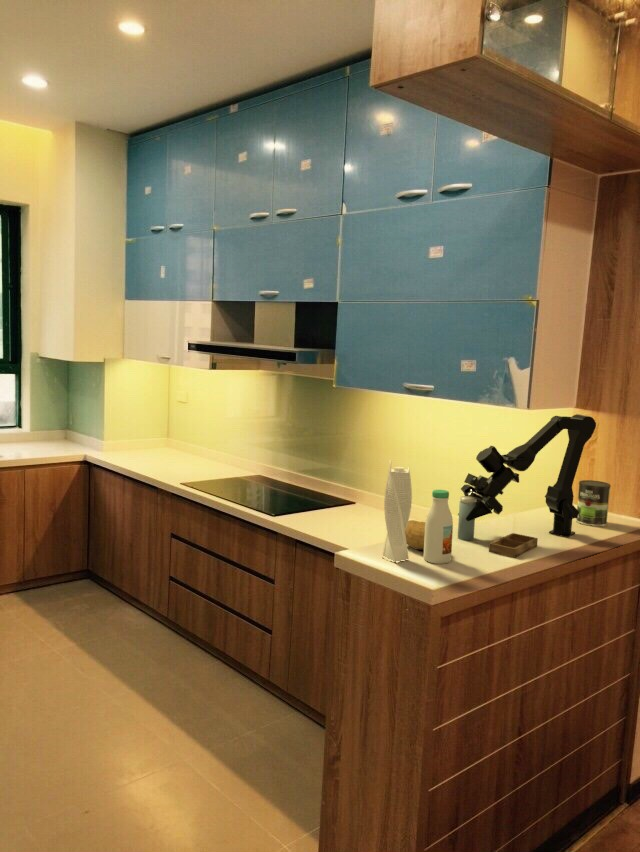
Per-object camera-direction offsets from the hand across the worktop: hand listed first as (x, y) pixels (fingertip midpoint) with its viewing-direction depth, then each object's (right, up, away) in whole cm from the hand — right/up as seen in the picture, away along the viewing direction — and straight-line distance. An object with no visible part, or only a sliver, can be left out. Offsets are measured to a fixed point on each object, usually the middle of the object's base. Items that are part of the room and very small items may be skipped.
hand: (462, 518), depth 225 cm
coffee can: (+50, -5, +26) cm, 56 cm away
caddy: (+13, -8, -9) cm, 18 cm away
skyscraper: (-24, -9, -22) cm, 34 cm away
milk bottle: (-12, -9, -22) cm, 26 cm away
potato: (-15, -8, -11) cm, 20 cm away
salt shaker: (+1, -6, +1) cm, 7 cm away
